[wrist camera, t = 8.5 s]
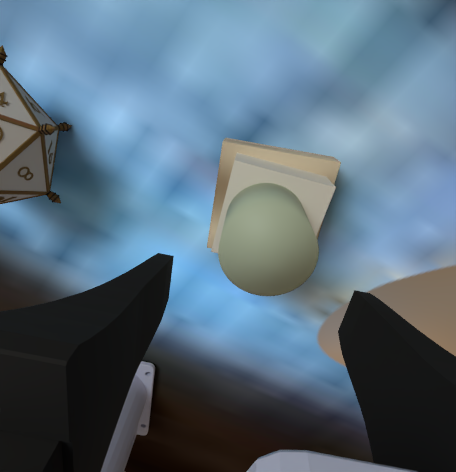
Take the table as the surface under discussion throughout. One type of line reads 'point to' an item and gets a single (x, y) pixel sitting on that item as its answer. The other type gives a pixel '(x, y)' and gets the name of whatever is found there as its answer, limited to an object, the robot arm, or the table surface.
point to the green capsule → (267, 241)
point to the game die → (25, 142)
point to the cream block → (298, 181)
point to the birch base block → (270, 153)
